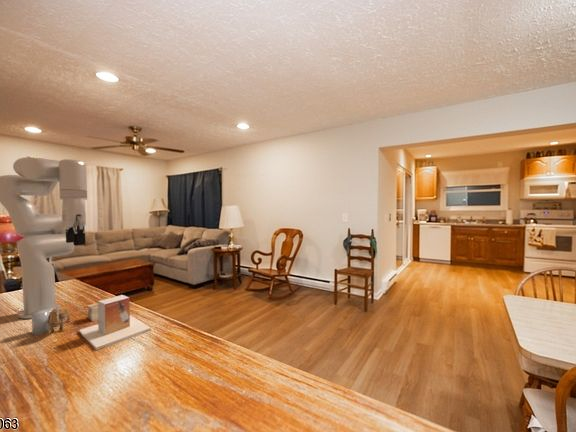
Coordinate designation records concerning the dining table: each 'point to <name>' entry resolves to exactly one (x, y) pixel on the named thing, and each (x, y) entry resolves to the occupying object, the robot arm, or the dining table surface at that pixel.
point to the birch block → (93, 312)
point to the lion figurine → (58, 318)
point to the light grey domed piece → (40, 322)
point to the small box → (113, 314)
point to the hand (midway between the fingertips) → (75, 243)
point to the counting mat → (113, 334)
